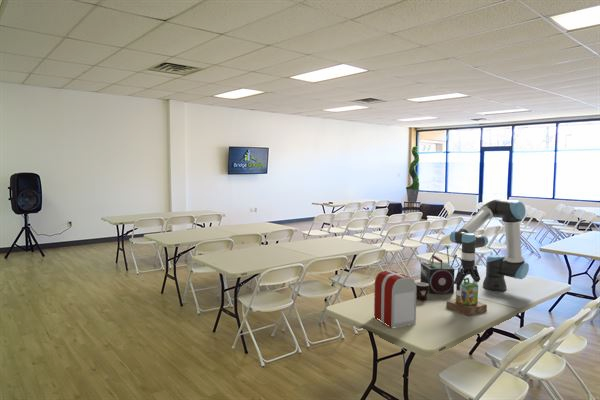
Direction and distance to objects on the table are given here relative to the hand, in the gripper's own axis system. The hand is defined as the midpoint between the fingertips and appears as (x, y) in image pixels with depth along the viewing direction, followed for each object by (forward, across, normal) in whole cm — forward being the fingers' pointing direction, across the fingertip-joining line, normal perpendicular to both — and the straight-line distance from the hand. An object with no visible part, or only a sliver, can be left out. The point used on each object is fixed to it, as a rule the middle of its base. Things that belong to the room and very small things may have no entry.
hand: (466, 293), depth 238 cm
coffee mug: (+10, +12, -27) cm, 31 cm away
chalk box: (+6, 0, 0) cm, 6 cm away
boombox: (+10, -13, -35) cm, 39 cm away
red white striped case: (+10, +50, -7) cm, 52 cm away
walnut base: (+10, 0, 0) cm, 10 cm away
